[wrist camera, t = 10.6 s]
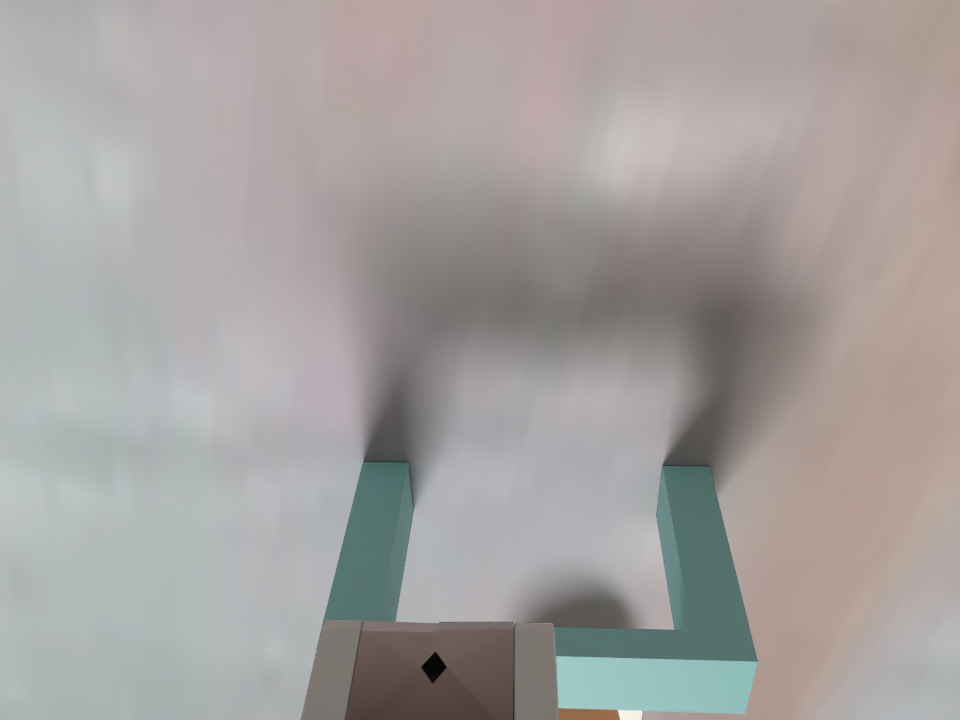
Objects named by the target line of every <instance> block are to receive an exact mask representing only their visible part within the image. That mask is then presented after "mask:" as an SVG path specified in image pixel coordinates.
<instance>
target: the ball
mask: <svg viewBox="0 0 960 720" xmlns="http://www.w3.org/2000/svg"><path fill="white" fill-rule="evenodd" d="M559 720H620V717H619V713H618V710H602V709H570V708H559Z"/></svg>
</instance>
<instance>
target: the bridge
mask: <svg viewBox="0 0 960 720" xmlns="http://www.w3.org/2000/svg"><path fill="white" fill-rule="evenodd" d="M413 512H414V511H413V502H412V493H411V483H410V474H409V464H408V462H363V464H362V468H361V472H360V476H359V480H358V484H357V488H356V492H355V496H354V500H353V504H352V508H351V512H350V516H349V520H348V524H347V528H346V532H345V536H344V540H343V544H342V548H341V552H340V556H339V560H338V564H337V568H336V572H335V576H334V580H333V584H332V588H331V593H330V597H329V601H328V605H327V609H326V613H325V617H324V621H323V625H322V628H323V626H324V624H325V622H326V620H362V621H387V622H395V621H396V615H397V609H398V603H399V596H400V590H401V584H402V578H403V572H404V566H405V560H406V554H407V548H408V542H409V536H410V530H411V524H412V518H413ZM656 517H657V523H658V529H659V536H660V542H661V548H662V554H663V561H664V567H665V573H666V580H667V586H668V592H669V598H670V605H671V611H672V617H673V623H674V630H657V629H617V628H578V627H554V629H555V643H556V664H557V686H558V707H559V708H570V709H602V710H635V711H667V712H699V713H731V714H745V711H746V707H747V703H748V699H749V695H750V691H751V687H752V683H753V679H754V675H755V671H756V667H757V663H758V660H757V656H756V652H755V648H754V644H753V640H752V636H751V632H750V628H749V624H748V620H747V616H746V612H745V608H744V604H743V600H742V595H741V591H740V587H739V583H738V579H737V575H736V571H735V567H734V563H733V559H732V555H731V551H730V547H729V543H728V539H727V535H726V531H725V527H724V523H723V519H722V514H721V510H720V506H719V502H718V498H717V494H716V490H715V486H714V482H713V478H712V474H711V470H710V466H662V473H661V482H660V490H659V498H658V506H657V514H656ZM321 630H322V629H321ZM316 650H317V649H316Z"/></svg>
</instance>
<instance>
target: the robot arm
mask: <svg viewBox="0 0 960 720" xmlns="http://www.w3.org/2000/svg"><path fill="white" fill-rule="evenodd" d="M301 720H559V707H558V686H557V664H556V643H555V629H554V626H553V623H515V624H514V622H439V623H416V622H387V621H362V620H326V622H325V624H324V626H323V628H322V630H321V632H320V637H319V641H318V645H317V650H316V654H315V659H314V663H313V668H312V672H311V677H310V681H309V685H308V690H307V694H306V699H305V703H304V708H303V712H302V717H301Z"/></svg>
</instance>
